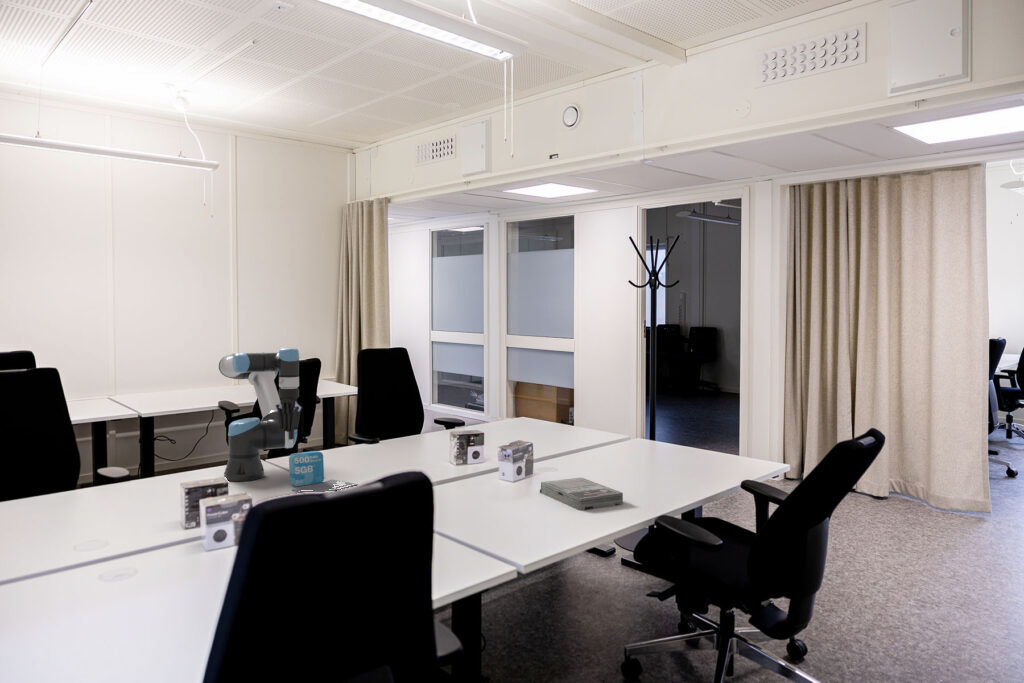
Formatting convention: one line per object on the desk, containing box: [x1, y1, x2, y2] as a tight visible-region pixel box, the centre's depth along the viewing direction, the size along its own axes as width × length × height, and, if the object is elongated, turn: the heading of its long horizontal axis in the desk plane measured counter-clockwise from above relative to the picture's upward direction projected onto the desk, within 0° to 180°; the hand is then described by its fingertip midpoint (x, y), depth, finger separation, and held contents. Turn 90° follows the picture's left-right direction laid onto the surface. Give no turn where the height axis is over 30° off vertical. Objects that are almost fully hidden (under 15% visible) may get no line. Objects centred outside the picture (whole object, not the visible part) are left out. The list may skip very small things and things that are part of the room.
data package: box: [288, 450, 325, 487], centre depth 265 cm, size 12×4×12 cm, turn 123°
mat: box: [291, 479, 359, 494], centre depth 259 cm, size 14×20×1 cm
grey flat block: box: [539, 477, 624, 511], centre depth 248 cm, size 18×27×4 cm
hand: (289, 447), depth 270 cm, fingers closed
